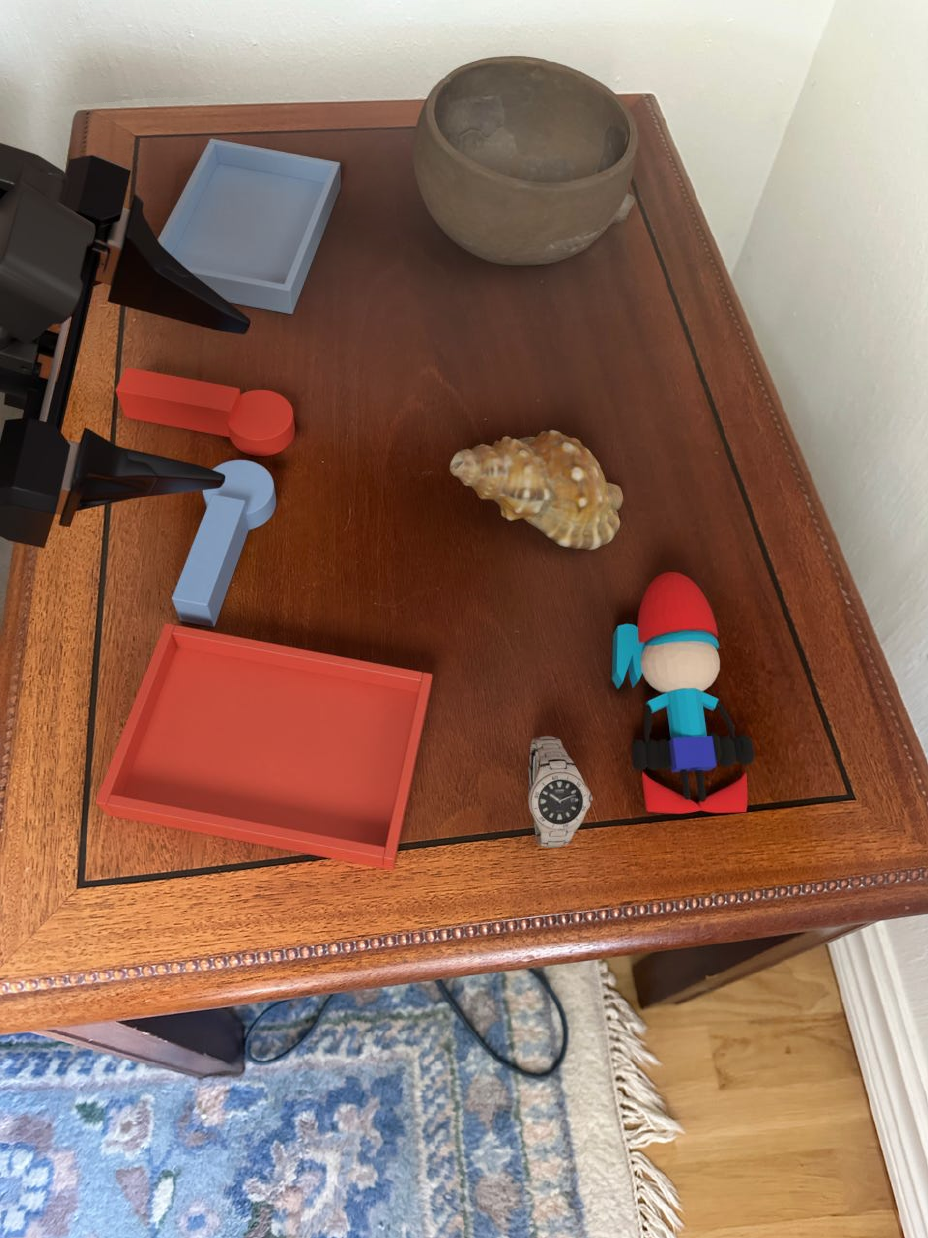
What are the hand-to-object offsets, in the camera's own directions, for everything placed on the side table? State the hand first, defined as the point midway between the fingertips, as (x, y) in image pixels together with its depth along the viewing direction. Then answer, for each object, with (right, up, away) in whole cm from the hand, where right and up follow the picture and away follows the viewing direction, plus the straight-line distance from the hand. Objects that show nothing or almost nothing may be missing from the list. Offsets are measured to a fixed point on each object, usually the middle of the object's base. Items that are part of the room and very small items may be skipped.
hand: (236, 402), depth 47 cm
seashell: (+17, -4, +16) cm, 23 cm away
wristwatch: (+17, -22, +5) cm, 28 cm away
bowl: (+16, +22, +30) cm, 41 cm away
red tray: (+1, -19, +5) cm, 20 cm away
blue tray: (-6, +20, +27) cm, 34 cm away
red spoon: (-6, +3, +17) cm, 18 cm away
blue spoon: (-4, -7, +12) cm, 14 cm away
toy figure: (+25, -17, +9) cm, 31 cm away
